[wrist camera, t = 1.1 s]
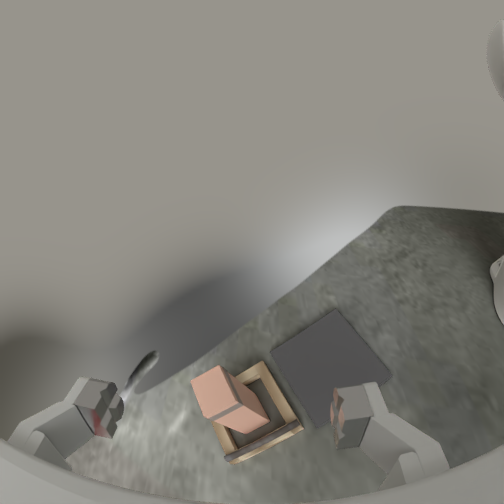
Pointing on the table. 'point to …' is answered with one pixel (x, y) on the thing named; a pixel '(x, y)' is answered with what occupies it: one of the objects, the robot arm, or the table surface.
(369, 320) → the table surface
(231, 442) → the frame
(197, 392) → the block
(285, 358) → the mat
